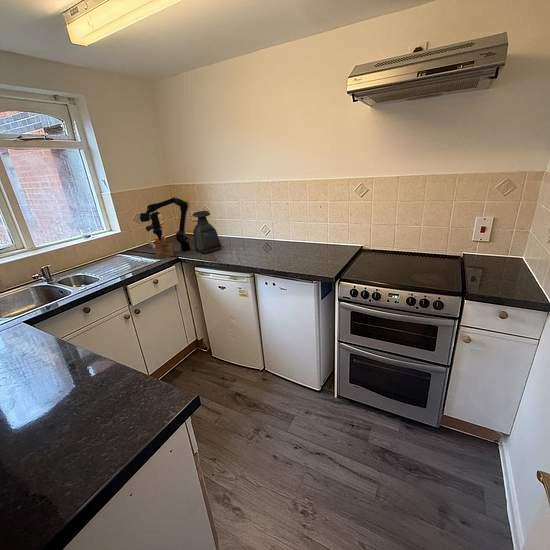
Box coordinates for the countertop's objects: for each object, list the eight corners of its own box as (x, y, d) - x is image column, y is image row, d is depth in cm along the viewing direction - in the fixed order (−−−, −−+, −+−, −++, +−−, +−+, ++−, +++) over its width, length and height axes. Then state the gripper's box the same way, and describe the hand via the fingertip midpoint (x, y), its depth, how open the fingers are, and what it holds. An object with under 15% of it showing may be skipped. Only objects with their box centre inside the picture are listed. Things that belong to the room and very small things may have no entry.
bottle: (222, 249, 231) (215, 211, 220) (202, 255, 223) (194, 215, 212) (213, 246, 245) (206, 209, 234) (194, 250, 237) (186, 213, 226)
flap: (154, 248, 223) (154, 249, 223) (155, 245, 234) (154, 245, 234) (148, 242, 220) (147, 242, 220) (148, 239, 231) (148, 239, 231)
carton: (157, 259, 226) (154, 249, 223) (157, 255, 237) (155, 246, 234) (174, 255, 230) (172, 246, 227) (174, 251, 240) (172, 243, 238)
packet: (165, 239, 241) (164, 236, 240) (165, 240, 237) (164, 237, 236) (156, 241, 240) (155, 237, 239) (155, 242, 236) (154, 239, 235)
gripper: (145, 220, 239) (150, 239, 245) (143, 224, 222) (149, 244, 228) (159, 218, 242) (164, 236, 247) (158, 221, 225) (164, 241, 230)
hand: (160, 239), depth 238 cm, fingers closed on packet, 4 cm apart
